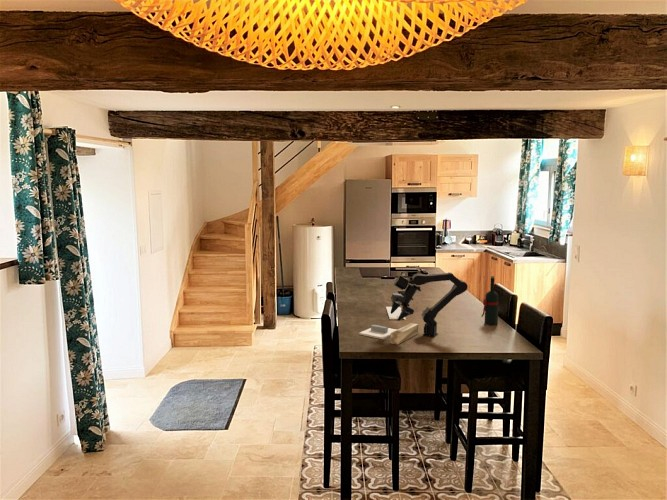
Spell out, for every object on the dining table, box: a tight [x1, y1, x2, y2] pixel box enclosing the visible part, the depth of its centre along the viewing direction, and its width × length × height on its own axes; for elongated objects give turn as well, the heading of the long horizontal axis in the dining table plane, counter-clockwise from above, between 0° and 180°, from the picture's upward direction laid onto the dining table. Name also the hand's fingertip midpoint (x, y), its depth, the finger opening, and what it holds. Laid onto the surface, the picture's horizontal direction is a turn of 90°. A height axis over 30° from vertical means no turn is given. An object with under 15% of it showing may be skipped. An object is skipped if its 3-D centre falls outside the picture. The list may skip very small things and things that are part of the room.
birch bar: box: [390, 322, 419, 346], centre depth 289 cm, size 4×24×6 cm, turn 144°
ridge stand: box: [358, 324, 397, 340], centre depth 300 cm, size 16×18×4 cm
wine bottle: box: [481, 275, 499, 326], centre depth 315 cm, size 8×10×30 cm
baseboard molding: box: [385, 306, 407, 321], centre depth 343 cm, size 31×3×12 cm
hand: (394, 316), depth 294 cm, fingers open, 9 cm apart
